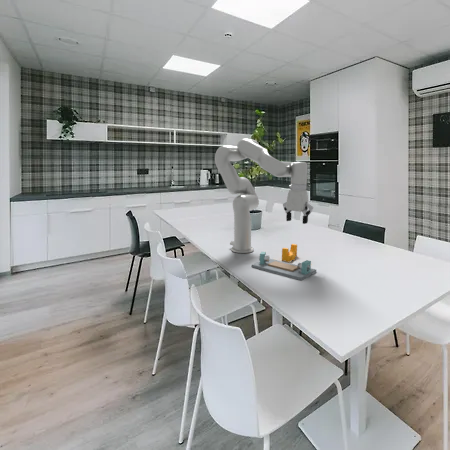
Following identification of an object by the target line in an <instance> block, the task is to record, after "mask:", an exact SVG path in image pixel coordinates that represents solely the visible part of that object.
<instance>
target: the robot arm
mask: <svg viewBox="0 0 450 450" xmlns="http://www.w3.org/2000/svg"><path fill="white" fill-rule="evenodd" d="M245 159H249V160H251V161H253V162H254V163H255V164H257V165H258V166H259V167H260V168H261V169H262V170H263V171H266V172H267V173H269V174H270V175H272V176H274V177H277V178H288V177H290V184H289V185H288V187H289V188H290V190H288V192H287V193H288V194H287V197H286V198H287V199H286V202H284V203H282V206H283V210H284V211H285V214H286V218H285V219H286V222H290V221H292V211H293V212H299V213H301V212H302V214H303V216H302V224H303V225H305V224H308V221H309V216H310V214H311V213H313V210H314V207H313V206H312V205H311V204H310V203H309V193H308V190H307V185H308V184H307V182H308V180H307V179H308V163H307V162H305V161H295V162H292V161H281V160H279V159H277V158H275V157H273V156H272V155H271V154H269V151H268V149H267V148H265V147H263V146H261V145H260V144H259V142H258V141H257V140H255V139H251V138H241V139H240V140H239V141H238V142H237V145H236V146H234V145H221V146H219V148H217V150H216V152H215V154H214V163H215V166H216V168H217V170H218V172H219V174H220V176H221V178H222V180H223V182H224V185H225V187H226V188H227V191H228V192H229V194H231V195H237V196H236V197H235V198H233V201H232V210H233V218H234V219H233V220H234V222H233V225H234V227H233V229H234V231H233V234H234V235H233V236H234V237H233V238H234V239H233V240H231V241H230V242H229V245H230V246H232V247H231V251H232V252H234V253H237V254H248V253H253V252H254V248H253V246H252V216H251V213H250V211H254V210H256V209H257V208H258V207H259V204H260V203H259V202H260V201H259V197H258V195H257V193H256V190H255V188H254V186H253V184H252V183H251V181H250V179H248V178H247V177H243V176H241V177H240V176H239V174H238V172H237V170H236V169H235V166H234V165H233V164H232V163H231V162H240V161H243V160H245Z"/></svg>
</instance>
